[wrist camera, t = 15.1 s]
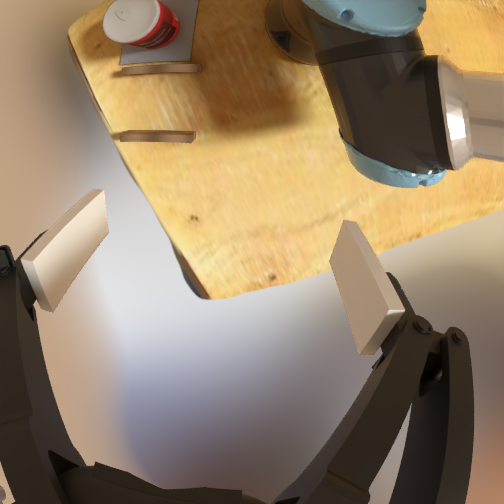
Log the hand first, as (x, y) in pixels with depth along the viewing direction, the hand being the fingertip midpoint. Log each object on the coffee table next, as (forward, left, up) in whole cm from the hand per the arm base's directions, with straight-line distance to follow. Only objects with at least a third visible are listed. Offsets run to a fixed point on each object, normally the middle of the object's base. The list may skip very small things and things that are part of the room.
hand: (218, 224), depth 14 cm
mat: (+16, -17, -32) cm, 39 cm away
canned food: (+16, -17, -32) cm, 39 cm away
